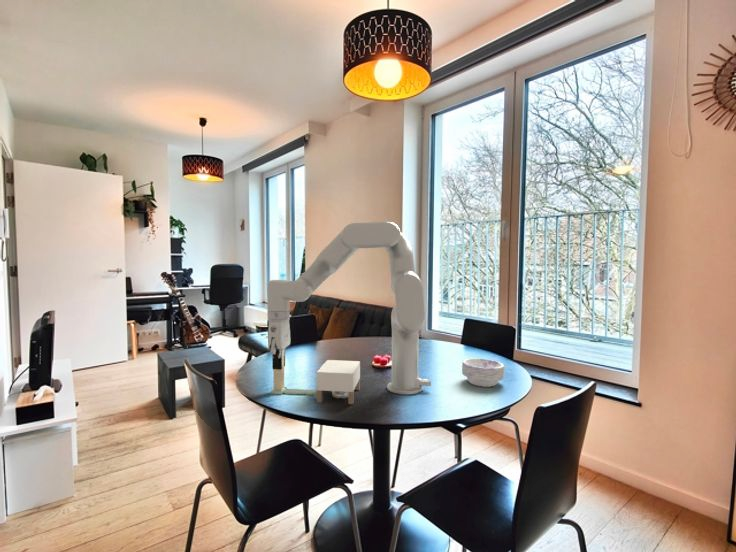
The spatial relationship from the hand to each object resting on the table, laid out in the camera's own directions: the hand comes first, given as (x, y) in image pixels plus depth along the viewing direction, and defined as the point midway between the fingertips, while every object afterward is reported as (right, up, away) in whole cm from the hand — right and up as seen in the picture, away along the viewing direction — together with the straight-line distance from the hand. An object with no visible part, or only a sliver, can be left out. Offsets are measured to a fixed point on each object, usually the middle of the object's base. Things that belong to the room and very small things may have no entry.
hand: (278, 367), depth 135 cm
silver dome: (+22, -9, -2) cm, 24 cm away
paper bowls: (+75, -9, +12) cm, 76 cm away
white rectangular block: (+21, -9, -2) cm, 23 cm away
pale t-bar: (+6, -9, 0) cm, 11 cm away
